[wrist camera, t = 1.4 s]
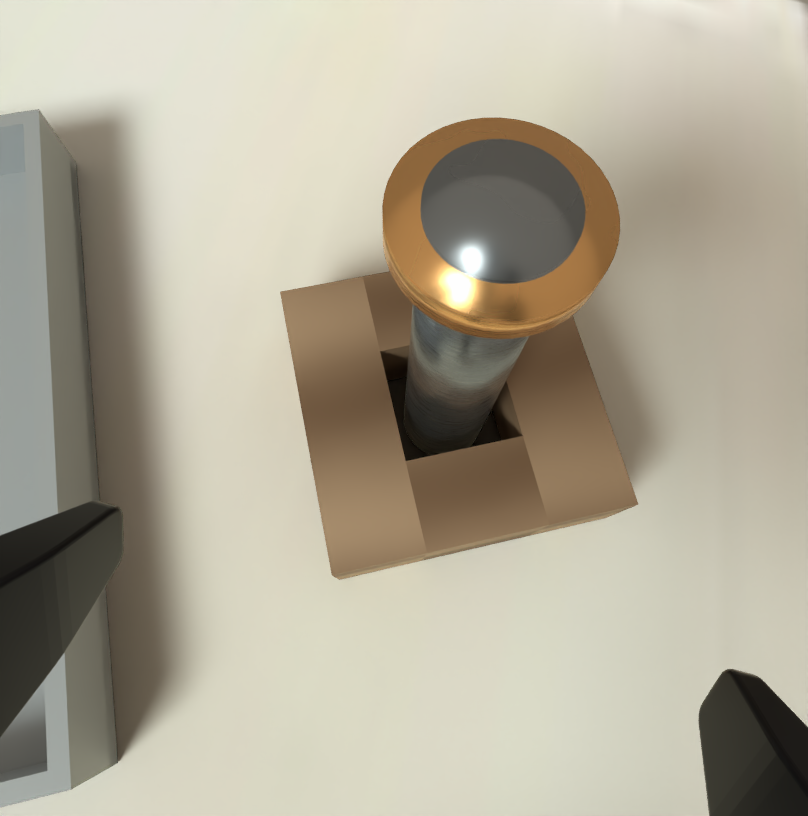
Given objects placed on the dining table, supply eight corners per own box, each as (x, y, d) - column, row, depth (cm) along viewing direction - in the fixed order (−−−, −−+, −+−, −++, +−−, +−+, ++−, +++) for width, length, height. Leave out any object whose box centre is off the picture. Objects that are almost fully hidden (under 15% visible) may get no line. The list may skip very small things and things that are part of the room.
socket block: (606, 517, 22) (638, 504, 19) (339, 579, 21) (331, 575, 18) (529, 283, 25) (547, 242, 22) (292, 329, 24) (280, 291, 21)
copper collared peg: (512, 461, 23) (658, 287, 10) (399, 486, 22) (412, 336, 10) (482, 356, 24) (580, 93, 12) (374, 378, 24) (360, 130, 11)
